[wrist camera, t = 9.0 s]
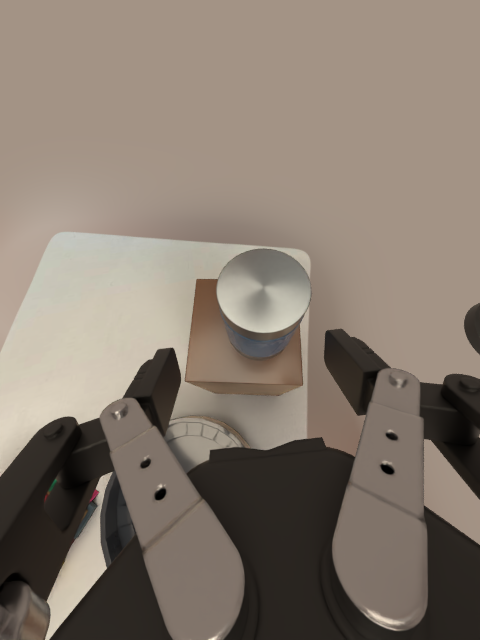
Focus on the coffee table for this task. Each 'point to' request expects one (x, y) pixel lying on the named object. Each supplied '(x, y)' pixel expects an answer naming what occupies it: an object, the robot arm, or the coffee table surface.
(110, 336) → the coffee table surface
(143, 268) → the coffee table surface
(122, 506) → the silver metal bowl
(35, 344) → the coffee table surface
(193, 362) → the crate
